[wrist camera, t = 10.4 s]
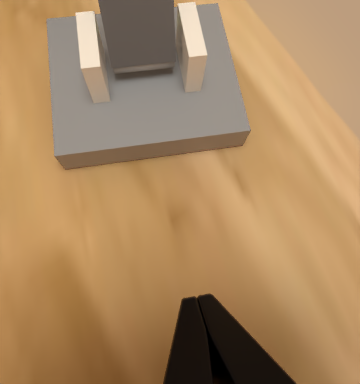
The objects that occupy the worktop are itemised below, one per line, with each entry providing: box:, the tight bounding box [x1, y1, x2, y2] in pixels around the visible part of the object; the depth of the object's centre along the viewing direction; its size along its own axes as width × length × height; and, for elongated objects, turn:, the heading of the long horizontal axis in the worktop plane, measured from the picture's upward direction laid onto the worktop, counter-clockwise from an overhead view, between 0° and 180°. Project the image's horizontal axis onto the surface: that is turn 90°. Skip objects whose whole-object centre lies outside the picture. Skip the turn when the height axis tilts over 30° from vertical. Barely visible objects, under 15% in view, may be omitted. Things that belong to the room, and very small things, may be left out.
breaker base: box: [47, 2, 251, 169], centre depth 24 cm, size 12×14×6 cm
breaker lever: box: [98, 0, 176, 74], centre depth 20 cm, size 2×5×9 cm, turn 100°
